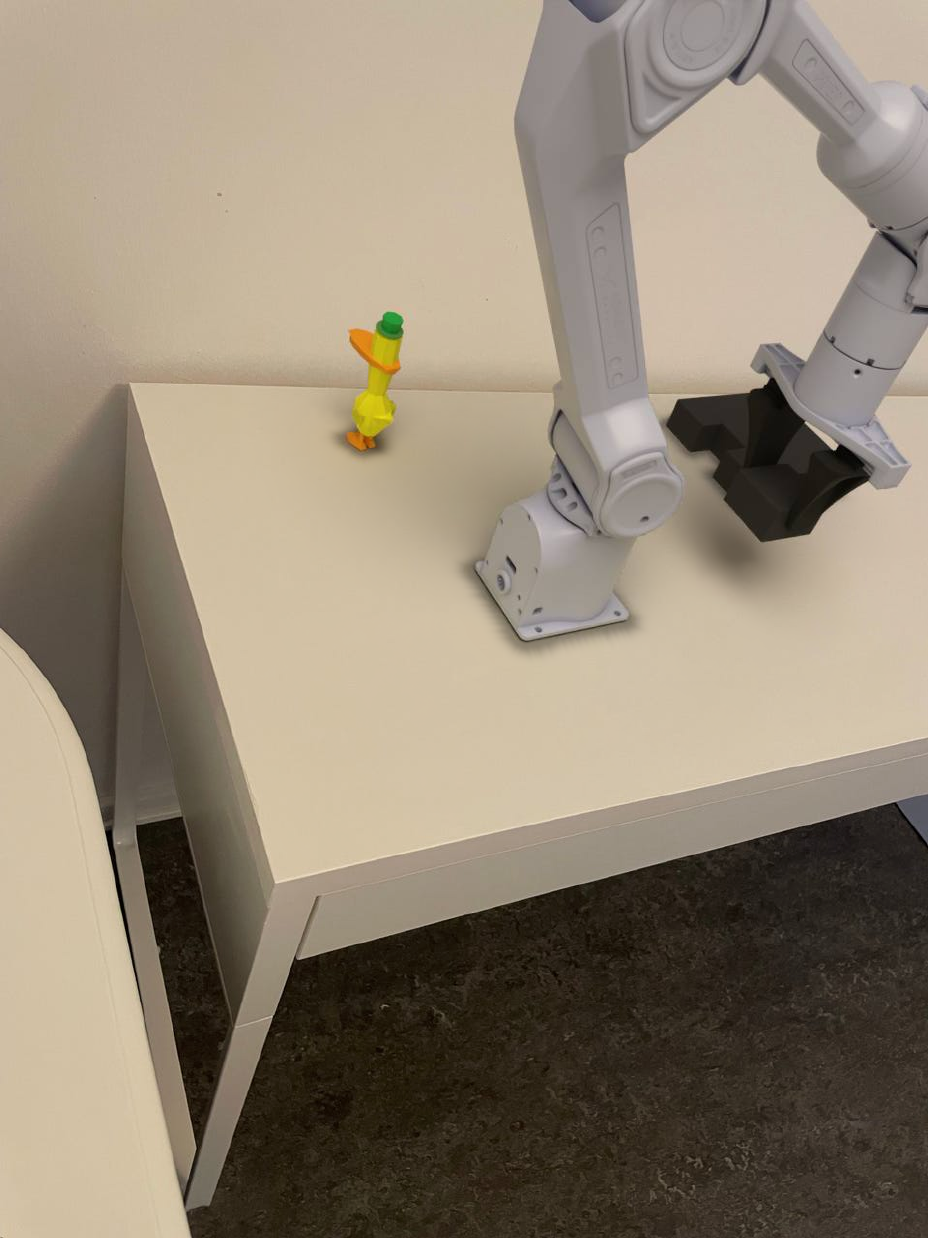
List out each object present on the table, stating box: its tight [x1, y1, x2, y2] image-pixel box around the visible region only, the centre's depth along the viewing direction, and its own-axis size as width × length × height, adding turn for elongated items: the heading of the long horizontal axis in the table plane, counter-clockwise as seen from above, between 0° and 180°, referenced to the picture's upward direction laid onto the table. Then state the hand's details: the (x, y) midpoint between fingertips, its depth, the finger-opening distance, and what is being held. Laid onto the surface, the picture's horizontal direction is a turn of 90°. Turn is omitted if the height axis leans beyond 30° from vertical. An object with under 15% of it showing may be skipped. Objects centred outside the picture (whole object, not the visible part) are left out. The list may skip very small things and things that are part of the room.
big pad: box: [666, 392, 832, 493], centre depth 97 cm, size 12×12×3 cm
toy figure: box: [346, 311, 405, 452], centre depth 81 cm, size 7×4×12 cm, turn 40°
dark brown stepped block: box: [723, 463, 823, 543], centre depth 78 cm, size 7×5×3 cm
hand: (774, 503), depth 78 cm, fingers closed on dark brown stepped block, 5 cm apart
